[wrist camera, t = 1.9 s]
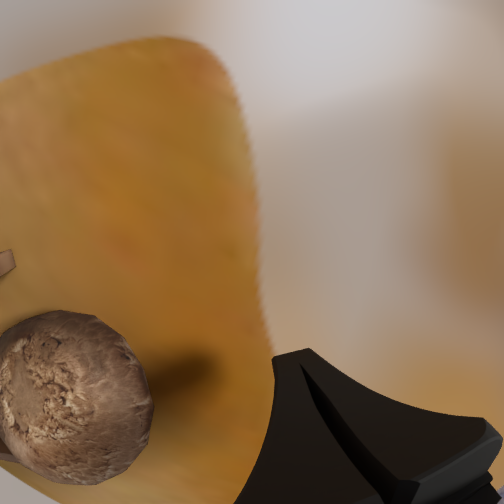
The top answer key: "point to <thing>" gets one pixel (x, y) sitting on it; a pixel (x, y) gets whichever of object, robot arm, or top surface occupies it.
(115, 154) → the top surface
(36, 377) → the mushroom
